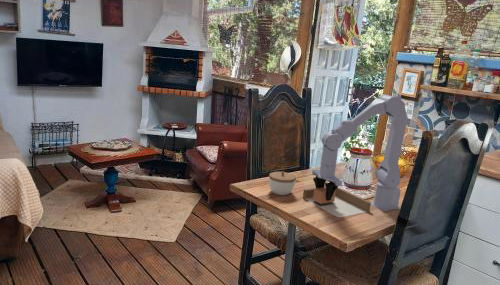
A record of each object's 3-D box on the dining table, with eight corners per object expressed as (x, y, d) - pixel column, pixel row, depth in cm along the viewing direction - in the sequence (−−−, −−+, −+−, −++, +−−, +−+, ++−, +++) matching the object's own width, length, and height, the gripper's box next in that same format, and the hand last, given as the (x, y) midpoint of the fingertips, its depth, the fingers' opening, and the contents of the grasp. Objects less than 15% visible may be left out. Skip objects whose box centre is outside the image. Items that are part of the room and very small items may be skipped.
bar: (320, 203, 142) (322, 192, 141) (312, 199, 146) (314, 188, 145) (334, 201, 146) (335, 190, 145) (326, 197, 149) (327, 186, 148)
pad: (325, 198, 150) (326, 198, 150) (335, 203, 146) (335, 203, 146) (310, 201, 146) (310, 201, 146) (320, 206, 141) (320, 206, 141)
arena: (332, 194, 158) (333, 185, 157) (369, 212, 141) (370, 202, 140) (302, 199, 149) (303, 189, 148) (338, 219, 133) (339, 208, 132)
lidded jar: (262, 192, 153) (264, 170, 151) (279, 187, 161) (281, 166, 159) (282, 200, 146) (284, 177, 144) (299, 195, 153) (301, 173, 151)
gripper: (307, 159, 146) (303, 192, 149) (334, 170, 134) (329, 206, 137) (321, 158, 150) (317, 190, 153) (348, 169, 138) (343, 203, 141)
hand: (323, 197), depth 145 cm, fingers closed on bar, 4 cm apart
